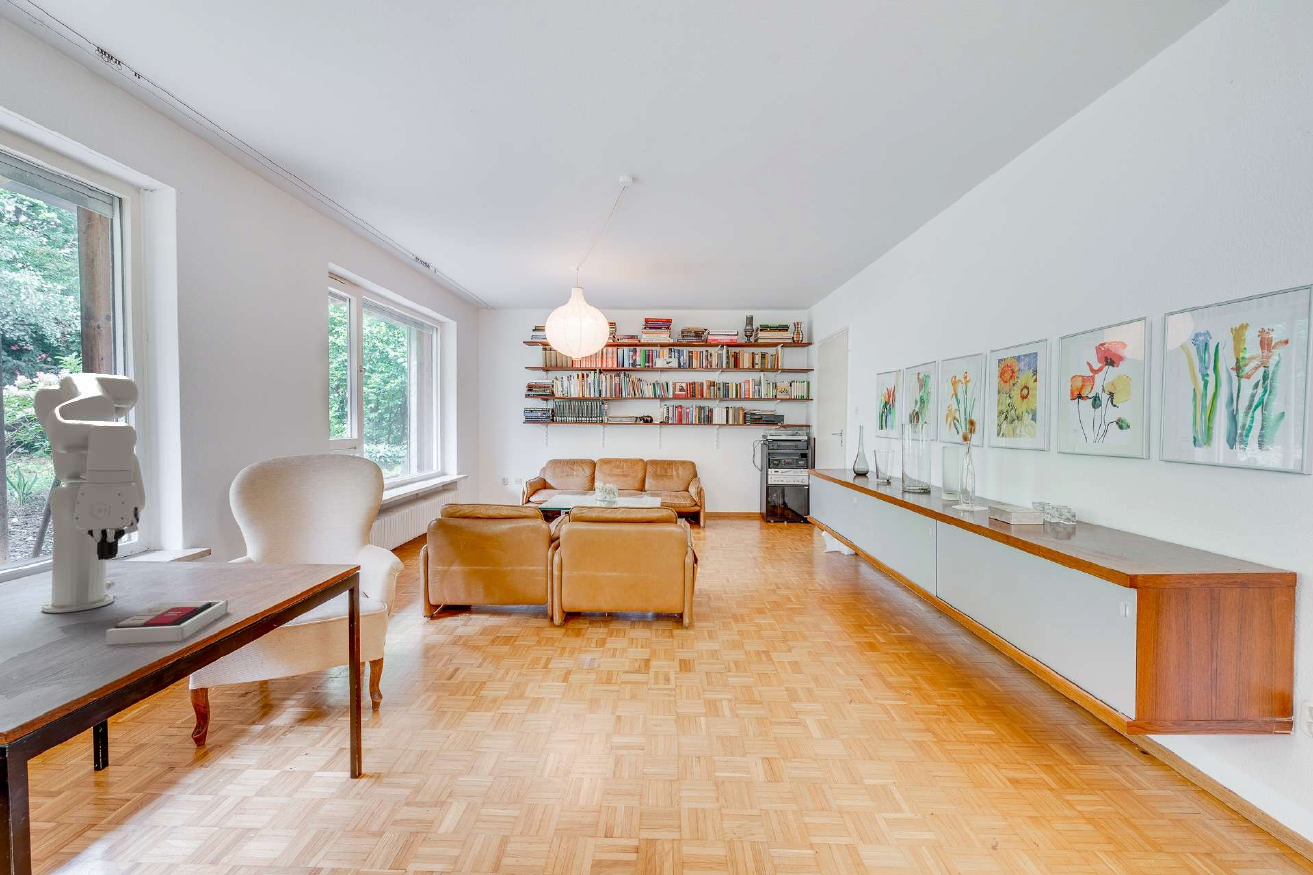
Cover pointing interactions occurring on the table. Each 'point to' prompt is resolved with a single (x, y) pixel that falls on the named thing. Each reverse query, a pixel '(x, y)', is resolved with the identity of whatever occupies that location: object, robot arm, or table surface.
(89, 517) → the robot arm
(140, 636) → the white u-shaped fence
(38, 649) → the table surface
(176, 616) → the calculator
